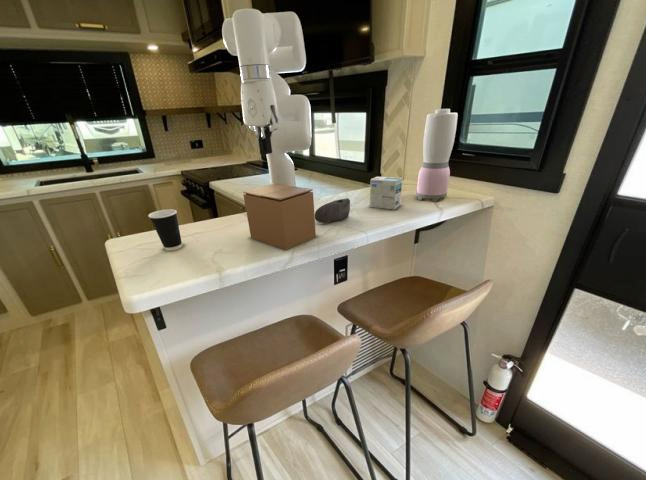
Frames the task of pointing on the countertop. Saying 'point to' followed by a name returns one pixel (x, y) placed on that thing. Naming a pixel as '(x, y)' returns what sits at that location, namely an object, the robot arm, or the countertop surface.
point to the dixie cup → (167, 228)
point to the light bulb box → (385, 192)
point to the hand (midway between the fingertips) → (266, 153)
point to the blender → (436, 154)
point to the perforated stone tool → (333, 211)
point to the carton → (282, 216)
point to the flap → (266, 189)
